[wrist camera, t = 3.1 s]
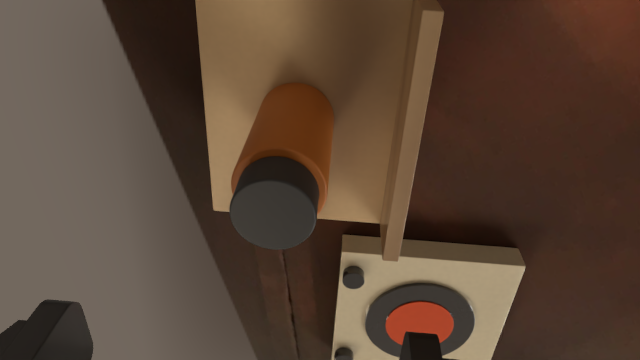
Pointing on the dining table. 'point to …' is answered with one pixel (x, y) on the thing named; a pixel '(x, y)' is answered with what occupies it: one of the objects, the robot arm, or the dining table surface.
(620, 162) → the dining table surface
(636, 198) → the dining table surface
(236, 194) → the spice bottle
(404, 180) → the shelf
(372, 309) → the hot plate
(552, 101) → the dining table surface
